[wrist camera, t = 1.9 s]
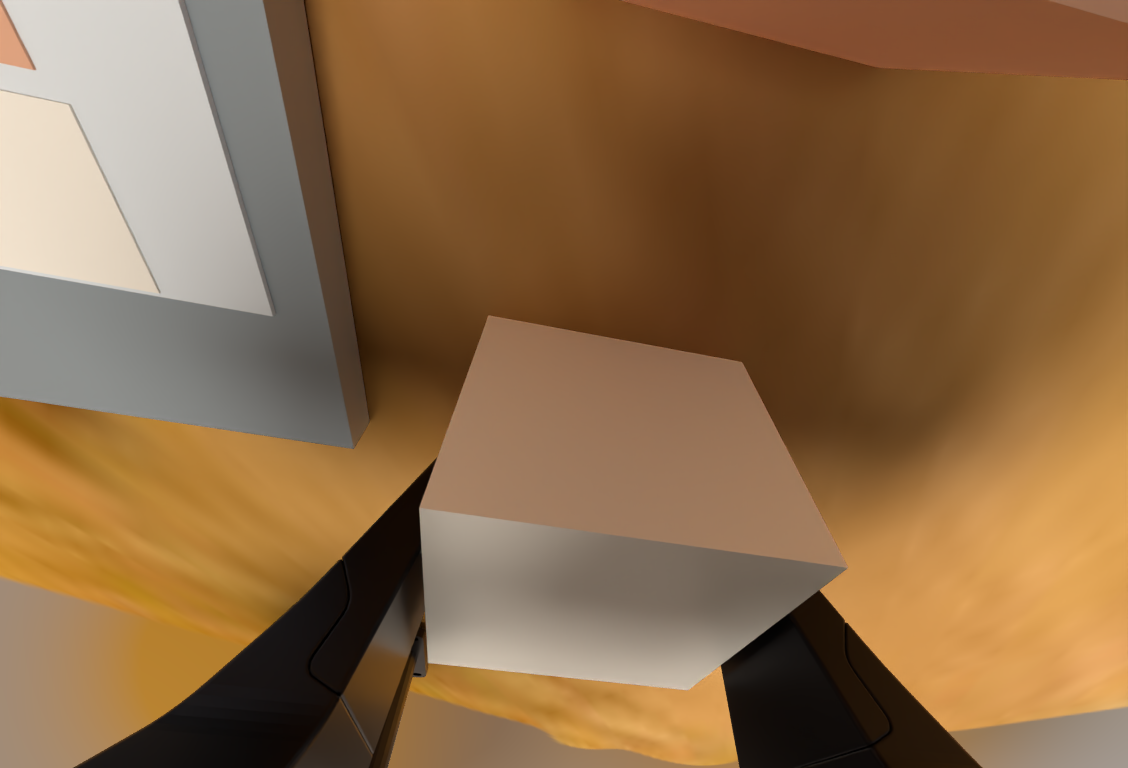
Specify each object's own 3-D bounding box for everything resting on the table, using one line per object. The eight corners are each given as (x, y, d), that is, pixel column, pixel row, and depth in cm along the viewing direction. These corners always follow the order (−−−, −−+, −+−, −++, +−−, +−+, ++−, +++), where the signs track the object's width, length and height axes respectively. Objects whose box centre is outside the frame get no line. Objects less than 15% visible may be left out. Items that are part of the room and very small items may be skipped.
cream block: (657, 505, 13) (687, 689, 10) (474, 478, 13) (427, 662, 9) (741, 361, 10) (848, 567, 6) (488, 314, 9) (419, 508, 5)
